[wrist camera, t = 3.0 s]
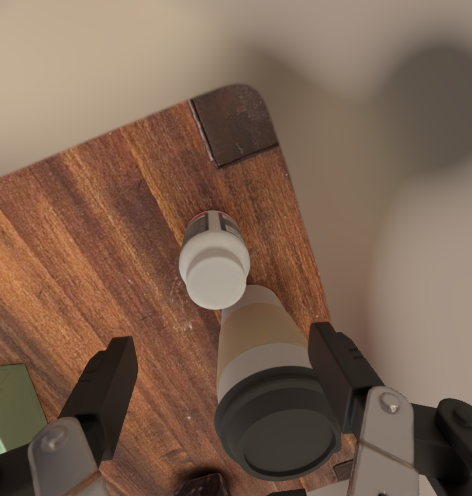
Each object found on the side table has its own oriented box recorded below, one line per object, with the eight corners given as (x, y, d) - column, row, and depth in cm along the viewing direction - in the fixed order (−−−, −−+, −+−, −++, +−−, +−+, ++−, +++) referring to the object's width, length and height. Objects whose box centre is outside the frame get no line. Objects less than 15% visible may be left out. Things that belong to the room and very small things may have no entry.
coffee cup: (222, 352, 32) (236, 513, 18) (201, 288, 28) (196, 426, 15) (295, 332, 32) (365, 477, 18) (282, 266, 29) (356, 383, 15)
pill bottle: (188, 263, 27) (180, 323, 18) (181, 211, 25) (167, 250, 16) (241, 257, 28) (258, 313, 19) (238, 206, 26) (256, 241, 17)
